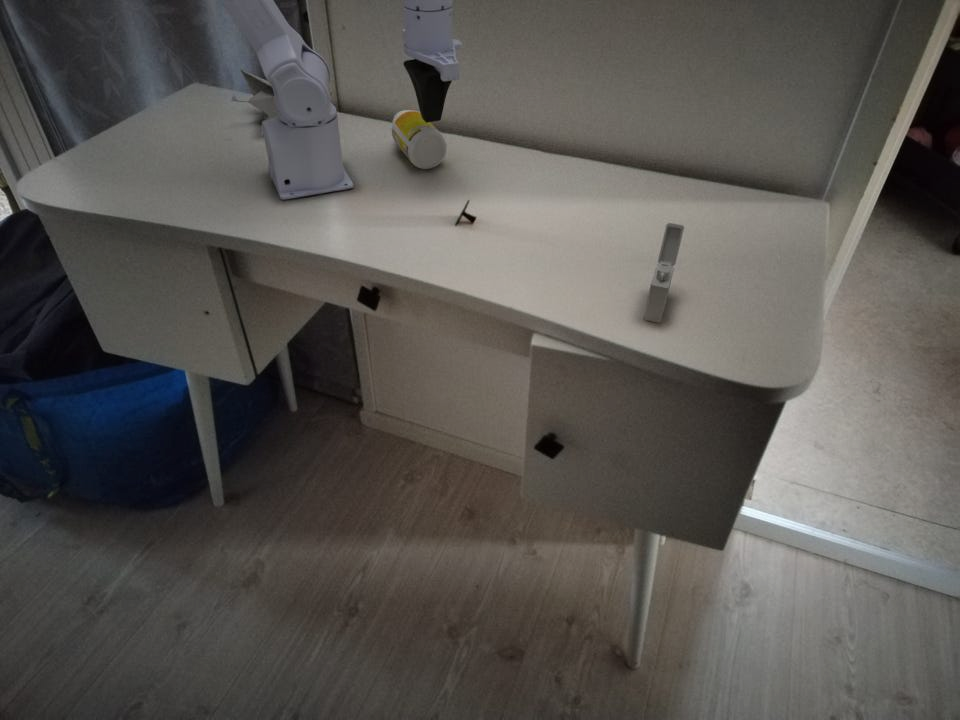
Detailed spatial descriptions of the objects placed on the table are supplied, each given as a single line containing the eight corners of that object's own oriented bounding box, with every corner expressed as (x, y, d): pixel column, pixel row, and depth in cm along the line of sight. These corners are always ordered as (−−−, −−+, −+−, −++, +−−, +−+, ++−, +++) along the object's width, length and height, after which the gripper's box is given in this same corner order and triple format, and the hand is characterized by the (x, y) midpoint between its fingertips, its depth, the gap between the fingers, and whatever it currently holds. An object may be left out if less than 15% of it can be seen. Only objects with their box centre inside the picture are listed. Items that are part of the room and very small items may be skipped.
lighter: (660, 323, 71) (675, 255, 66) (643, 319, 72) (657, 252, 67) (670, 285, 76) (685, 220, 71) (654, 282, 77) (668, 217, 72)
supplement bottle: (452, 134, 95) (427, 107, 102) (415, 128, 92) (391, 100, 99) (442, 173, 98) (417, 144, 105) (405, 168, 95) (382, 138, 102)
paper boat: (308, 123, 105) (247, 119, 100) (295, 150, 110) (236, 148, 105) (285, 58, 108) (225, 51, 103) (273, 87, 113) (215, 82, 108)
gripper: (484, 18, 78) (482, 136, 87) (438, -13, 88) (440, 96, 97) (424, 24, 76) (428, 145, 85) (384, -8, 86) (391, 103, 95)
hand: (431, 119), depth 91 cm, fingers closed
